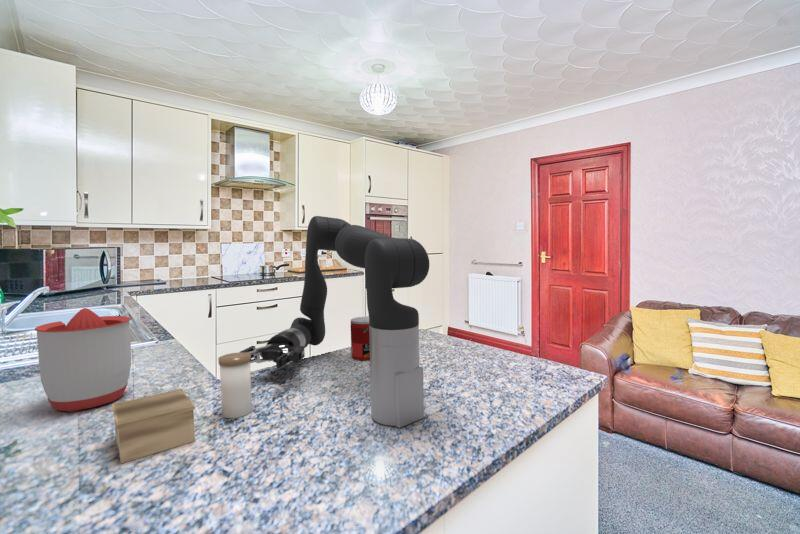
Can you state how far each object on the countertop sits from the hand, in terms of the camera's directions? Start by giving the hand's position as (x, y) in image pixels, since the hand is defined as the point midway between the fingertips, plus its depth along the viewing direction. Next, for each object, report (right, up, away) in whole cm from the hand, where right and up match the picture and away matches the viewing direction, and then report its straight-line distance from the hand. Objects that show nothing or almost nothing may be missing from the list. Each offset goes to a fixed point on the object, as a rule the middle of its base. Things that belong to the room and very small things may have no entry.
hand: (259, 363), depth 85 cm
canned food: (+21, -5, +27) cm, 34 cm away
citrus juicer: (-36, -7, -2) cm, 36 cm away
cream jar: (-1, -7, -10) cm, 12 cm away
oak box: (-10, -8, -20) cm, 24 cm away
